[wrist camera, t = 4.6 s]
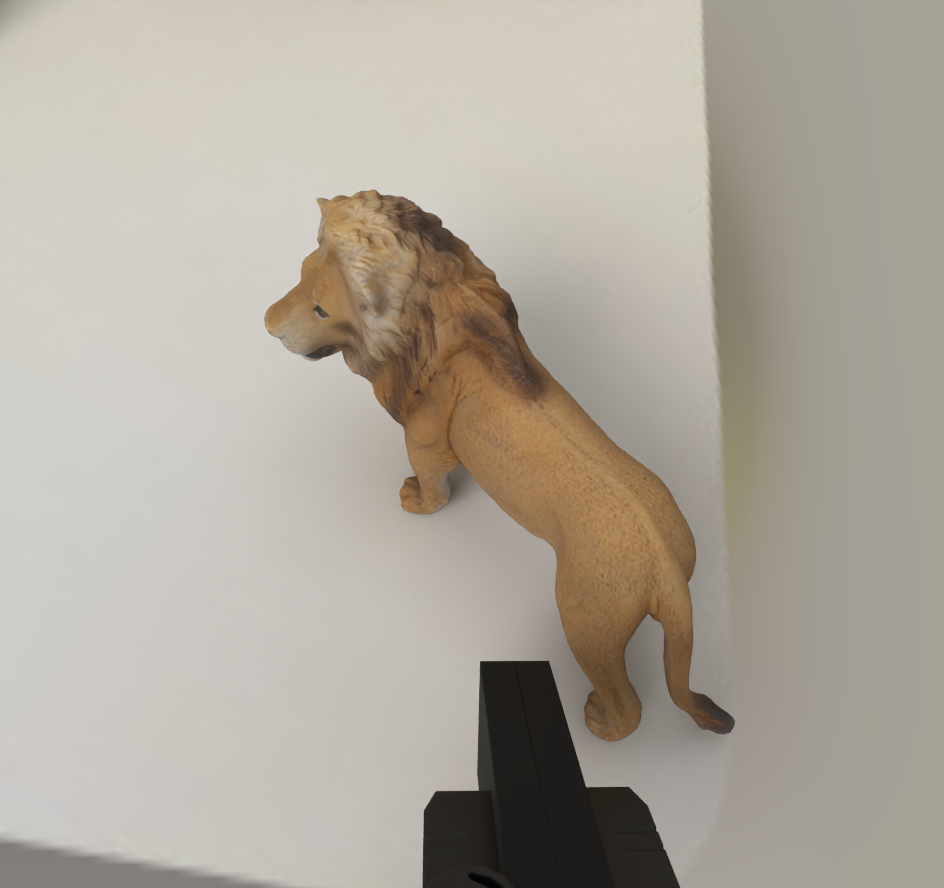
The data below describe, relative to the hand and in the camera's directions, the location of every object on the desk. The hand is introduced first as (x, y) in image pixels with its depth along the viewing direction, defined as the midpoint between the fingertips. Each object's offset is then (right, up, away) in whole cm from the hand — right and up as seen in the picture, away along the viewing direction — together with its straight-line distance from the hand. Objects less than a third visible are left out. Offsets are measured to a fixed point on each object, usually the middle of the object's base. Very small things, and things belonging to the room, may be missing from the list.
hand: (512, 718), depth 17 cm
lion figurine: (0, +3, +6) cm, 7 cm away
